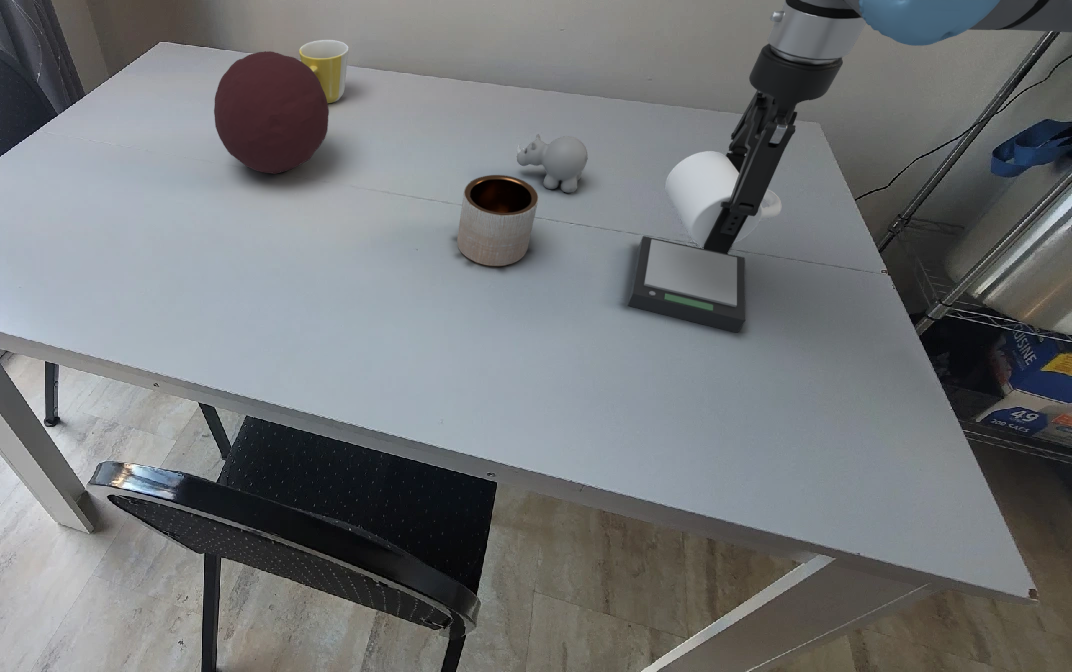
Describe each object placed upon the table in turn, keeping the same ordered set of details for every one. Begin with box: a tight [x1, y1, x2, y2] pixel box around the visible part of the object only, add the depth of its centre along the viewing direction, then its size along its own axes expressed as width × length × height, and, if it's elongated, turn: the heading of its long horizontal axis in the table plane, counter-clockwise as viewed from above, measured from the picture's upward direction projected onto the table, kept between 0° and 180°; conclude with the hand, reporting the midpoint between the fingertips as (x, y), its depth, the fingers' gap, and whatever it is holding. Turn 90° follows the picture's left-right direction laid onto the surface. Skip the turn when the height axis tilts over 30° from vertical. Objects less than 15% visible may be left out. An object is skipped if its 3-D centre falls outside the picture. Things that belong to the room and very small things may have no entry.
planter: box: [456, 174, 539, 267], centre depth 90 cm, size 11×11×10 cm
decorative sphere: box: [213, 50, 330, 175], centre depth 105 cm, size 20×20×20 cm
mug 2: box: [664, 150, 782, 248], centre depth 76 cm, size 12×10×8 cm
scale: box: [627, 235, 746, 334], centre depth 85 cm, size 14×14×3 cm
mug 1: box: [298, 39, 350, 104], centre depth 126 cm, size 14×10×10 cm
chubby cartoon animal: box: [516, 133, 589, 194], centre depth 103 cm, size 7×12×8 cm, turn 61°
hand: (716, 223), depth 78 cm, fingers closed on mug 2, 11 cm apart
